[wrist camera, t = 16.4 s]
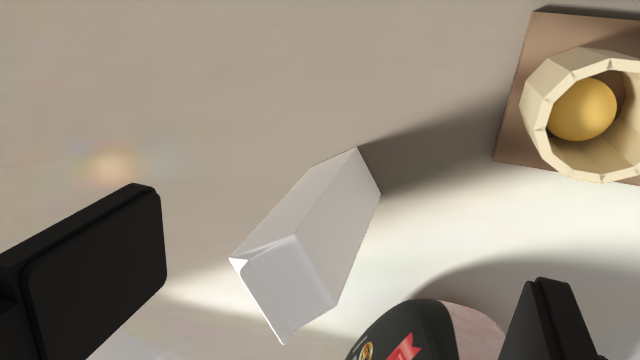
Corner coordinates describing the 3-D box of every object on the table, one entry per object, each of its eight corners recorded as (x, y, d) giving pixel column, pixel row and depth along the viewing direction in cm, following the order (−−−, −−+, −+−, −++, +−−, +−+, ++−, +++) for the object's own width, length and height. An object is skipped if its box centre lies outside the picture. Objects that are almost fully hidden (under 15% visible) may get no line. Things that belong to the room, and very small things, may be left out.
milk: (357, 145, 43) (277, 257, 24) (382, 194, 44) (326, 339, 25) (309, 167, 46) (202, 283, 26) (334, 212, 47) (249, 356, 28)
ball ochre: (552, 66, 34) (555, 81, 30) (621, 75, 32) (634, 93, 28) (533, 122, 37) (534, 143, 33) (597, 133, 35) (605, 157, 31)
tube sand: (536, 42, 34) (557, 52, 27) (653, 54, 32) (709, 68, 25) (509, 139, 37) (521, 170, 30) (612, 155, 35) (651, 192, 28)
